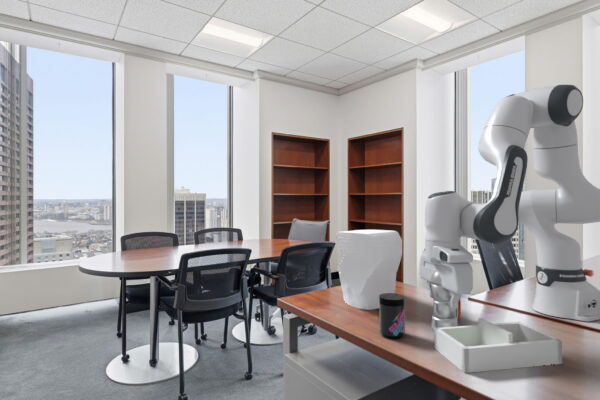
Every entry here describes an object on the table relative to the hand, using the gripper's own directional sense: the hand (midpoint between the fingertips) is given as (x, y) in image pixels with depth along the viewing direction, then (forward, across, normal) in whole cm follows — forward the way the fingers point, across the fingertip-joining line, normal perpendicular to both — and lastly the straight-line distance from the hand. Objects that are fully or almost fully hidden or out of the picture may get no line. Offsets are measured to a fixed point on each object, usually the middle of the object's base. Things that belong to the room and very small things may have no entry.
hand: (443, 302), depth 92 cm
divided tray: (+8, +14, +4) cm, 17 cm away
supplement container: (+9, -2, -14) cm, 16 cm away
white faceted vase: (+9, -30, -8) cm, 32 cm away
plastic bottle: (+9, 0, 0) cm, 9 cm away
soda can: (+9, -10, +8) cm, 15 cm away
